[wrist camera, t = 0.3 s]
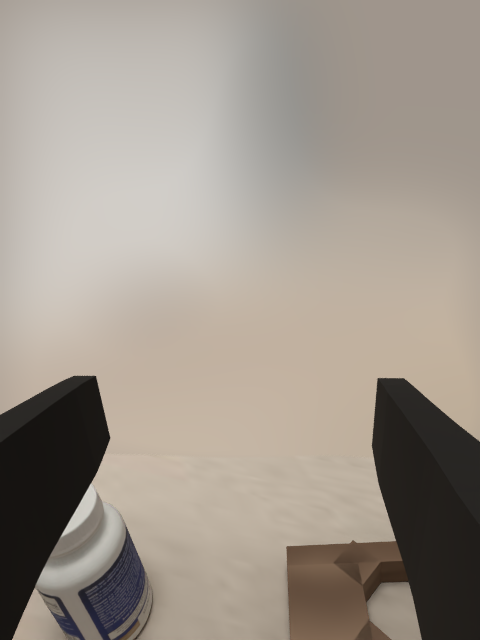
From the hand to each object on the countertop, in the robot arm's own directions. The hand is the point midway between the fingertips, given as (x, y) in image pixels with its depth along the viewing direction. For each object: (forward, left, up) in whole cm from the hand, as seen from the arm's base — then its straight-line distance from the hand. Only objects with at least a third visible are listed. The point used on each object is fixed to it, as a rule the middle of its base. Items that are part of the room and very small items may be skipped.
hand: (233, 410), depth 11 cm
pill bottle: (+6, +12, -20) cm, 25 cm away
